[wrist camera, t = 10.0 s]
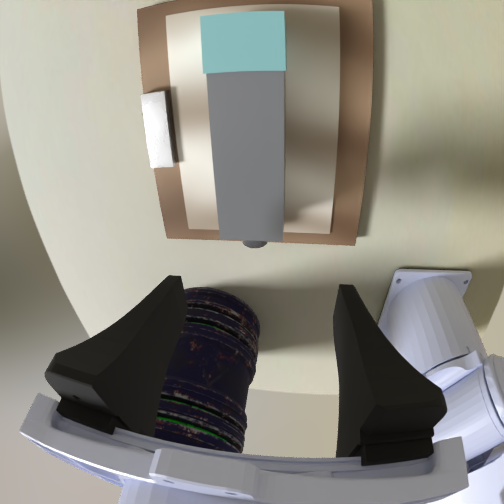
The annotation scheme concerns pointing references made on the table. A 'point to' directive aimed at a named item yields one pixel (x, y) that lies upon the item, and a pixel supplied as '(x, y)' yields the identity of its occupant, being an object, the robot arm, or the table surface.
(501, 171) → the table surface
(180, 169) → the clipboard
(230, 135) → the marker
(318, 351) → the table surface
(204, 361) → the dark blue cylinder
